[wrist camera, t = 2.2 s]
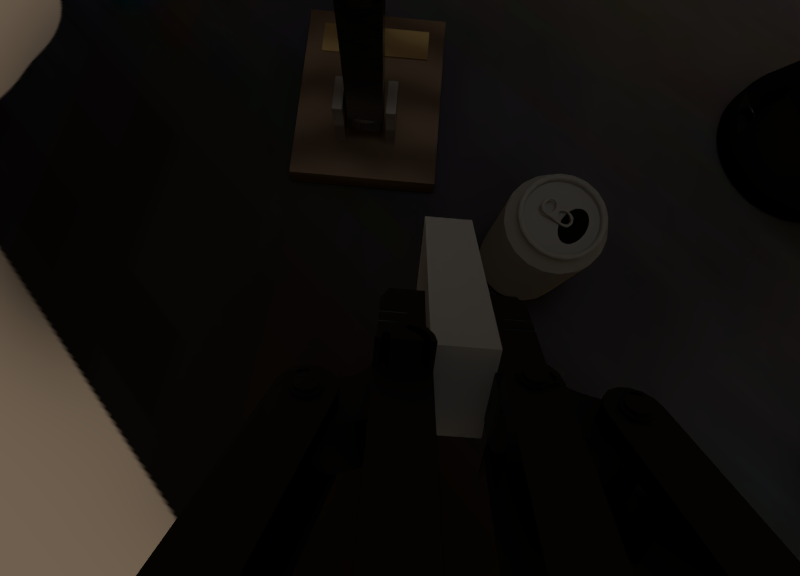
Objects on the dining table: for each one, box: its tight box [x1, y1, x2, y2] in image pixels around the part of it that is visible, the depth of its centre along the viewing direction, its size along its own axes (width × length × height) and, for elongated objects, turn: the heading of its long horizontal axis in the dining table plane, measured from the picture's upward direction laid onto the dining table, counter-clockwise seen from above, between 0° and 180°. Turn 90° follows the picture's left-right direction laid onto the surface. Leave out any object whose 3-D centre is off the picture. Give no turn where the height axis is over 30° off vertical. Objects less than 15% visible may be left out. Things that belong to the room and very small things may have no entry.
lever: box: [333, 0, 385, 132], centre depth 35 cm, size 3×3×21 cm
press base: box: [289, 10, 446, 193], centre depth 45 cm, size 17×13×7 cm
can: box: [480, 174, 608, 300], centre depth 40 cm, size 8×8×12 cm
